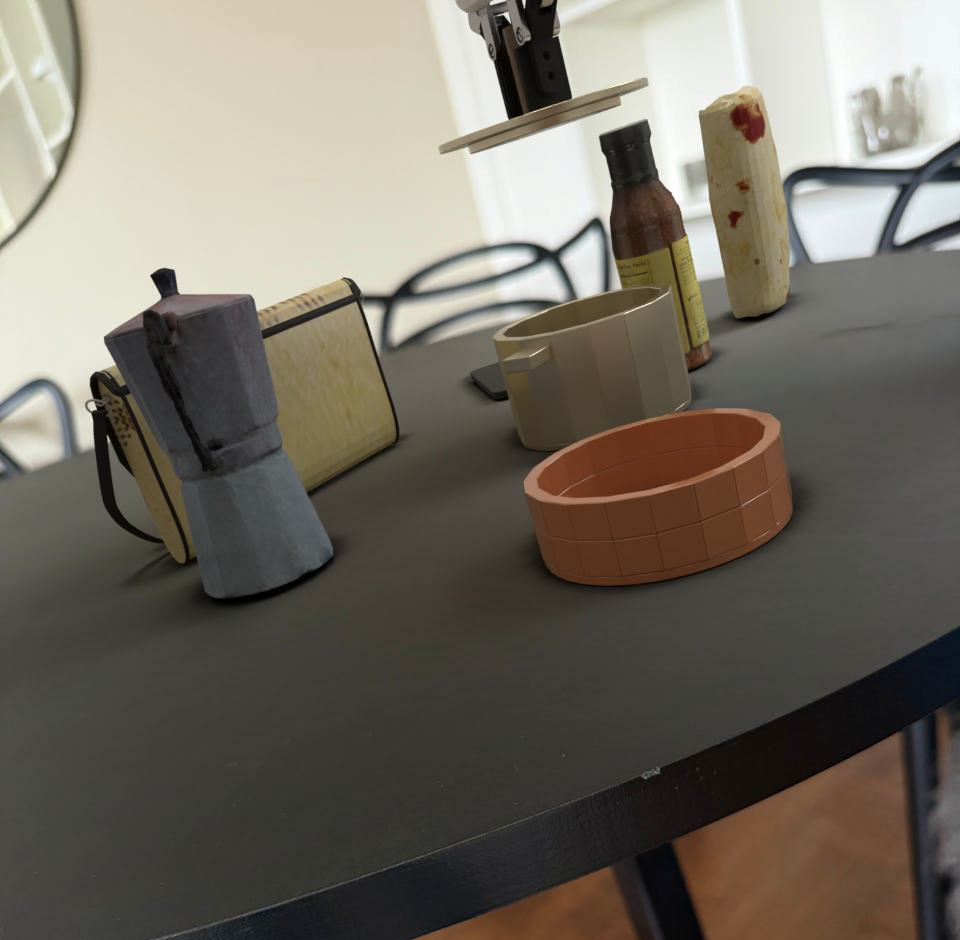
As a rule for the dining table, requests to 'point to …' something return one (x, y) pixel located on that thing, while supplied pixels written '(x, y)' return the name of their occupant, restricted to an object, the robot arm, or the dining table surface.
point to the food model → (747, 201)
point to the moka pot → (221, 437)
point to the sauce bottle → (652, 233)
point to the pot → (594, 365)
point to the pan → (661, 497)
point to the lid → (540, 111)
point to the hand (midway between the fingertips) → (540, 109)
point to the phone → (491, 380)
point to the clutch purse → (300, 398)
